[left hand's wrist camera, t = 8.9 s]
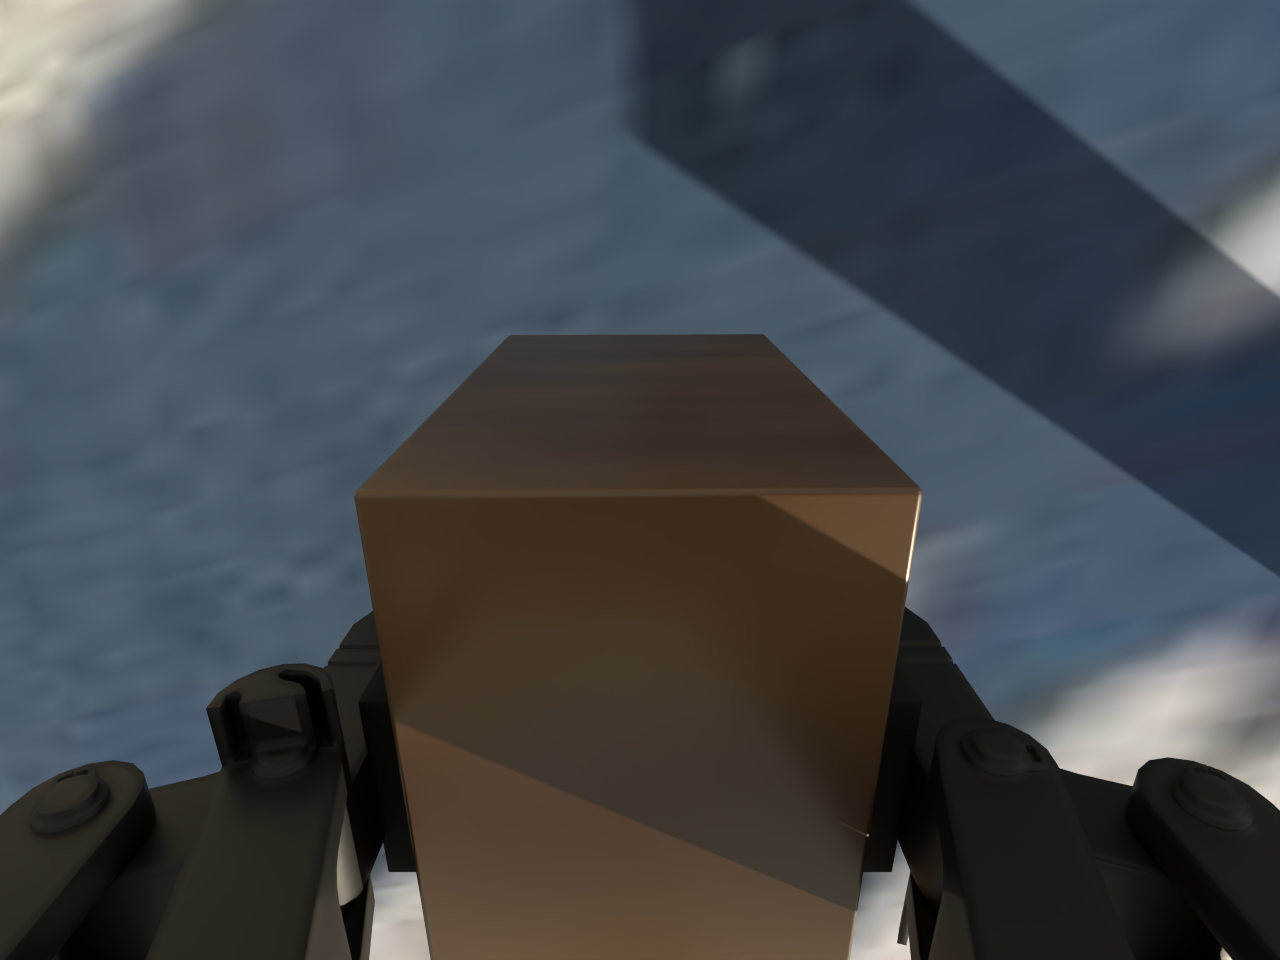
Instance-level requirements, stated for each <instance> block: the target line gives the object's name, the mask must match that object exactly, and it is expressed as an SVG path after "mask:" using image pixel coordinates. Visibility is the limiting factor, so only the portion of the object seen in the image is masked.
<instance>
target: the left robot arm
mask: <svg viewBox="0 0 1280 960" xmlns="http://www.w3.org/2000/svg"><path fill="white" fill-rule="evenodd" d="M206 710H207V714H208V717H209V721H210V724H211V728H212V732H213V735H214V739H215V742H216V746H217V749H218V753H219V756H220V760H221V764H222V768H221V771H220V772H217V773H213V774H210V775H207V776H203V777H199V778H195V779H191V780H186V781H182V782H177V783H173V784H169V785H164V786H160V787H156V788H151V789H148V786H147V783H146V780H145V777H144V774H143V772H142V771H141V770H140V769H139V768H137V767H136V766H135V765H134V764H133V763H127V762H121V761H114V760H113V761H105V762H98V763H91V764H87V765H84V766H81V767H78V768H75V769H71V770H69V771H66V772H63V773H60V774H59V775H57V776H55V777H53V778H51V779H49V780H47V781H45V782H44V783H42V784H40V785H38V786H36V787H34V788H33V789H31V790H30V791H29V792H27V793H26V794H25V795H24V796H22V797H21V798H20V799H19V800H17V801H16V802H15V803H13V804H12V805H11V806H10V807H9V808H8V809H7V810H6V811H5V812H3V813H2V814H1V815H0V960H369V954H370V944H371V933H372V923H373V913H374V903H375V900H374V893H373V886H372V881H371V876H370V873H371V870H372V868H373V865H374V863H375V861H376V858H377V856H378V853H379V851H380V848H381V846H382V843H384V849H385V854H386V860H387V865H388V871H389V872H416V867H415V861H414V855H413V849H412V843H411V837H410V831H409V825H408V818H407V812H406V806H405V800H404V794H403V788H402V782H401V776H400V770H399V764H398V758H397V752H396V746H395V740H394V734H393V728H392V722H391V716H390V709H389V703H388V697H387V691H386V685H385V679H384V673H383V667H382V661H381V655H380V649H379V643H378V637H377V631H376V625H375V619H374V613H373V611H372V612H371V613H369V614H368V615H367V616H365V617H364V618H362V619H361V620H359V621H358V622H357V623H355V624H354V625H353V626H352V628H351V629H350V631H349V632H348V634H347V635H346V636H345V638H344V639H343V641H342V642H341V644H340V648H339V649H337V650H336V651H335V653H334V654H333V655H332V657H331V658H330V660H329V661H328V666H325V667H324V669H322V668H321V667H317V666H313V665H309V664H305V663H304V664H282V665H278V666H274V667H270V668H265V669H261V670H258V671H256V672H254V673H251V674H249V675H247V676H245V677H242V678H240V679H238V680H236V681H235V682H233V683H232V684H230V685H229V686H228V687H226V688H225V689H223V690H222V691H221V692H219V693H218V694H217V695H216V696H215V698H214V699H213V700H212V702H211V703H210V704H209V705H208V707H207V708H206ZM897 840H898V841H899V844H900V846H901V849H902V851H903V854H904V856H905V858H906V861H907V863H908V866H909V868H910V876H909V881H908V886H907V891H906V896H905V901H904V906H903V911H902V917H901V922H900V927H899V934H898V940H897V943H899V944H903V945H907V940H908V935H909V942H910V952H911V960H1280V810H1279V809H1277V808H1276V807H1275V806H1274V805H1273V804H1272V803H1271V802H1270V801H1268V800H1267V799H1266V798H1265V797H1263V796H1262V795H1261V794H1259V793H1258V792H1257V791H1256V790H1254V789H1253V788H1252V787H1250V786H1249V785H1247V784H1246V783H1244V782H1242V781H1240V780H1238V779H1236V778H1234V777H1232V776H1231V775H1229V774H1227V773H1225V772H1223V771H1221V770H1218V769H1215V768H1213V767H1210V766H1206V765H1204V764H1200V763H1198V762H1195V761H1190V760H1182V759H1175V758H1162V759H1155V760H1149V761H1148V762H1147V763H1146V764H1144V765H1143V766H1142V767H1141V768H1140V769H1138V772H1137V775H1136V778H1135V781H1134V784H1133V786H1129V785H1125V784H1120V783H1116V782H1111V781H1107V780H1103V779H1098V778H1094V777H1089V776H1085V775H1081V774H1077V773H1073V772H1070V771H1067V770H1063V769H1060V768H1059V767H1058V765H1057V763H1056V762H1055V760H1054V759H1053V757H1052V756H1051V754H1050V753H1049V751H1048V750H1047V749H1046V748H1045V747H1043V746H1042V745H1041V744H1040V743H1039V742H1037V741H1036V740H1035V739H1034V738H1032V737H1031V736H1030V735H1028V734H1026V733H1024V732H1022V731H1020V730H1018V729H1016V728H1014V727H1012V726H1010V725H1008V724H1005V723H1002V722H998V721H995V720H994V719H993V717H992V716H991V714H990V713H989V711H988V710H987V708H986V707H985V705H984V704H983V703H982V701H981V700H980V698H979V697H978V695H977V694H976V692H975V691H974V690H973V688H972V687H971V685H970V684H969V682H968V681H967V679H966V678H965V677H964V675H963V674H962V672H961V671H960V669H959V668H958V666H957V665H956V664H953V659H952V658H951V656H950V655H949V653H948V652H947V650H946V649H945V648H944V647H941V642H940V640H939V639H938V637H937V636H936V635H935V633H934V632H933V630H932V629H931V627H930V626H929V624H928V623H927V622H926V621H924V620H923V619H921V618H920V617H919V616H917V615H916V614H914V613H913V612H912V611H910V610H909V609H907V608H906V607H905V608H904V615H903V621H902V628H901V634H900V640H899V647H898V653H897V660H896V666H895V672H894V679H893V685H892V691H891V698H890V704H889V711H888V717H887V723H886V730H885V736H884V742H883V749H882V755H881V762H880V768H879V774H878V781H877V787H876V793H875V800H874V806H873V813H872V819H871V825H870V832H869V838H868V844H867V851H866V857H865V864H864V870H863V872H892V867H893V862H894V856H895V851H896V845H897Z"/></svg>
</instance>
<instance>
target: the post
mask: <svg viewBox="0 0 1280 960" xmlns="http://www.w3.org/2000/svg"><path fill="white" fill-rule="evenodd" d="M921 500H922V491H921V488H920V487H919V486H918V485H917V484H916V483H915V482H914V481H913V480H912V479H911V478H910V477H909V476H908V475H907V474H906V473H905V472H904V471H903V470H902V469H901V468H900V467H899V466H898V465H897V464H896V463H894V462H893V461H892V460H891V459H890V458H889V457H888V456H887V455H886V454H885V453H884V452H883V451H882V450H881V449H880V448H879V447H878V446H877V445H876V444H875V443H874V442H873V441H872V440H871V439H870V438H869V437H868V436H867V435H866V434H865V433H864V432H863V431H862V430H861V429H860V428H859V427H858V426H857V425H856V424H855V423H854V422H853V421H852V420H851V419H850V418H848V417H847V416H846V415H845V414H844V413H843V412H842V411H841V410H840V409H839V408H838V407H837V406H836V405H835V404H834V403H833V402H832V401H831V400H830V399H829V398H828V397H827V396H826V395H825V394H824V393H823V392H822V391H821V390H820V389H819V388H818V387H817V386H816V385H815V384H814V383H813V382H812V381H811V380H810V379H809V378H808V377H807V376H806V375H805V374H804V373H802V372H801V371H800V370H799V369H798V368H797V367H796V366H795V365H794V364H793V363H792V362H791V361H790V360H789V359H788V358H787V357H786V356H785V355H784V354H783V353H782V352H781V351H780V350H779V349H778V348H777V347H776V346H775V345H774V344H773V343H772V342H771V341H770V340H769V339H768V338H767V337H766V336H765V335H762V334H725V335H511V336H508V337H507V338H506V339H505V340H504V342H503V343H502V344H501V345H500V346H499V347H498V348H497V349H496V350H495V351H494V352H493V353H492V354H491V355H490V356H489V357H488V358H487V359H486V360H485V361H484V362H483V363H482V364H481V365H480V366H479V367H478V368H477V369H476V370H475V371H474V372H473V373H472V374H471V375H470V376H469V377H468V378H467V379H466V380H465V381H464V382H463V383H462V384H461V385H460V386H459V387H458V388H457V389H456V390H455V391H454V392H453V393H452V394H451V395H450V396H449V397H448V398H447V399H446V400H445V401H444V402H443V403H442V404H441V405H440V406H439V408H438V409H437V410H436V411H435V412H434V413H433V414H432V415H431V416H430V417H429V418H428V419H427V420H426V421H425V422H424V423H423V424H422V425H421V426H420V427H419V428H418V429H417V430H416V431H415V432H414V433H413V434H412V435H411V436H410V437H409V438H408V439H407V440H406V441H405V442H404V443H403V444H402V445H401V446H400V447H399V448H398V449H397V450H396V451H395V452H394V453H393V454H392V455H391V456H390V457H389V458H388V459H387V460H386V461H385V462H384V463H383V464H382V465H381V466H380V467H379V468H378V469H377V470H376V471H375V472H374V474H373V475H372V476H371V477H370V478H369V479H368V480H367V481H366V482H365V483H364V484H363V485H362V486H361V487H360V488H359V489H358V490H357V491H356V493H355V504H356V510H357V516H358V522H359V528H360V534H361V540H362V546H363V552H364V558H365V564H366V570H367V576H368V582H369V588H370V594H371V601H372V607H373V613H374V619H375V625H376V631H377V637H378V643H379V649H380V655H381V661H382V667H383V673H384V679H385V685H386V691H387V697H388V703H389V709H390V716H391V722H392V728H393V734H394V740H395V746H396V752H397V758H398V764H399V770H400V776H401V782H402V788H403V794H404V800H405V806H406V812H407V818H408V825H409V831H410V837H411V843H412V849H413V855H414V861H415V867H416V873H417V879H418V885H419V891H420V897H421V903H422V909H423V915H424V921H425V927H426V933H427V940H428V946H429V952H430V958H431V960H849V959H850V953H851V946H852V940H853V934H854V927H855V921H856V915H857V908H858V902H859V895H860V889H861V883H862V876H863V870H864V864H865V857H866V851H867V844H868V838H869V832H870V825H871V819H872V813H873V806H874V800H875V793H876V787H877V781H878V774H879V768H880V762H881V755H882V749H883V742H884V736H885V730H886V723H887V717H888V711H889V704H890V698H891V691H892V685H893V679H894V672H895V666H896V660H897V653H898V647H899V640H900V634H901V628H902V621H903V615H904V608H905V602H906V596H907V589H908V583H909V577H910V570H911V564H912V557H913V551H914V545H915V538H916V532H917V526H918V519H919V513H920V506H921Z"/></svg>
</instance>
